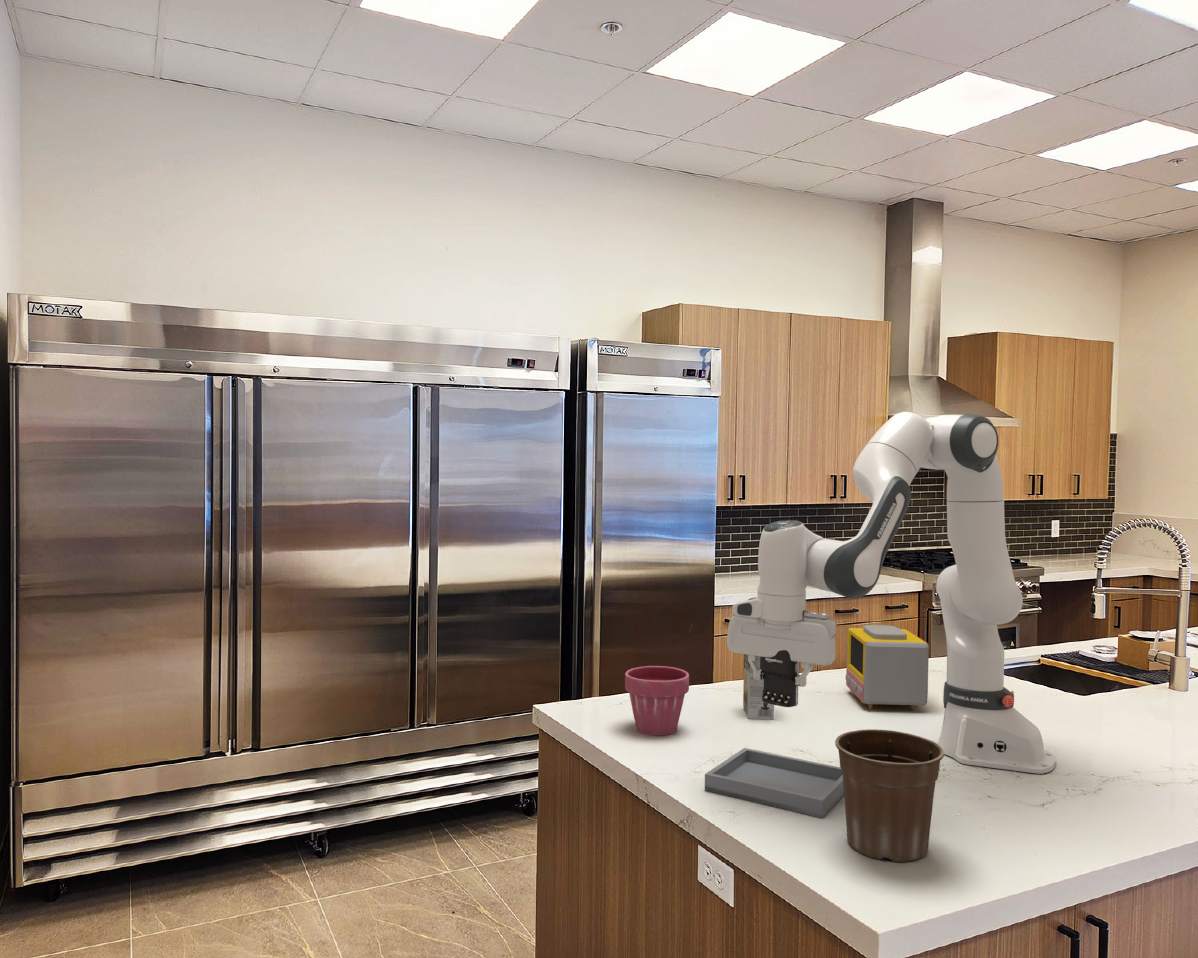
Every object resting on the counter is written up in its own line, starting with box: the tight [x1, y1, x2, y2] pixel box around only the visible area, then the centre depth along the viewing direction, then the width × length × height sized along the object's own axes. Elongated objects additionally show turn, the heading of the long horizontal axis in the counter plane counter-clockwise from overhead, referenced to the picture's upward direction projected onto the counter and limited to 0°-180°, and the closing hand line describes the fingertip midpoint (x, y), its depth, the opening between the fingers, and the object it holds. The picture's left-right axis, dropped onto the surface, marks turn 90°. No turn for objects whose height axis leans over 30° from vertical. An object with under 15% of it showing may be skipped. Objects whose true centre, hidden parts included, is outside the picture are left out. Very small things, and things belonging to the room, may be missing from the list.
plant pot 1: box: [624, 665, 690, 736], centre depth 199 cm, size 14×14×13 cm
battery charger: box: [760, 650, 801, 708], centre depth 165 cm, size 7×4×11 cm, turn 48°
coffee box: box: [742, 654, 775, 720], centre depth 212 cm, size 9×6×16 cm
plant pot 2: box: [834, 728, 945, 863], centre depth 140 cm, size 16×16×16 cm
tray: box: [704, 747, 844, 819], centre depth 164 cm, size 22×18×3 cm
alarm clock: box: [845, 624, 930, 711], centre depth 225 cm, size 20×16×18 cm
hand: (779, 682), depth 165 cm, fingers closed on battery charger, 7 cm apart
